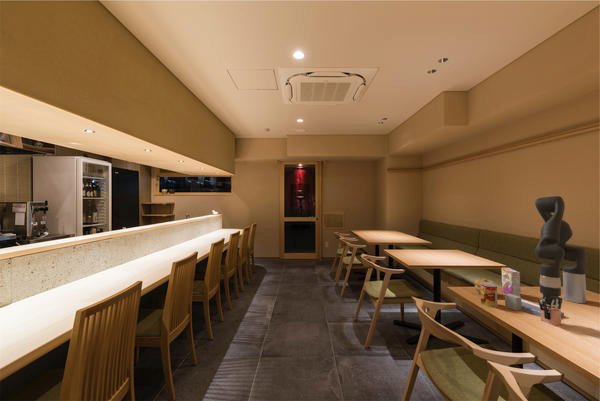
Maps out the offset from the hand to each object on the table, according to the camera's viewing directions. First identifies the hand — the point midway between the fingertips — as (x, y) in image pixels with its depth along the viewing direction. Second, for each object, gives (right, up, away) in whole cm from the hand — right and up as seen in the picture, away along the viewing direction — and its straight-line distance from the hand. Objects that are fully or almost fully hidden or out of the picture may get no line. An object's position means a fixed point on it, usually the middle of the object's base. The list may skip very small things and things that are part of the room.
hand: (550, 318), depth 124 cm
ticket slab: (+5, -2, +14) cm, 15 cm away
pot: (-4, -3, +39) cm, 39 cm away
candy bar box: (+11, -2, +37) cm, 38 cm away
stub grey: (-4, -2, +17) cm, 18 cm away
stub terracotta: (0, -2, 0) cm, 2 cm away
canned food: (-14, -3, +23) cm, 27 cm away
